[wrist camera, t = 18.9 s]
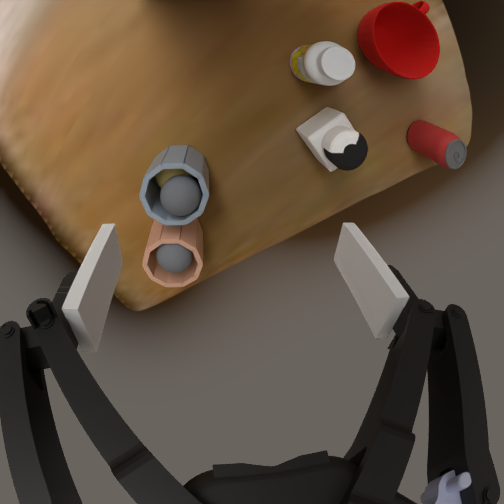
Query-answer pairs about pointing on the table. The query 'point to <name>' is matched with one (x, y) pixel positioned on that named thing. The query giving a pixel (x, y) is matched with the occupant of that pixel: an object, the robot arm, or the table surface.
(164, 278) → the terracotta tube
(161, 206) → the slate tube
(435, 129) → the beer can
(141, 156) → the table surface
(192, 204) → the charcoal ball
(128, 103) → the table surface
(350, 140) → the medicine bottle
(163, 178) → the ochre ball
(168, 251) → the charcoal ball
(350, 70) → the supplement bottle
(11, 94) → the table surface
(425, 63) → the ceramic cup
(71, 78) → the table surface
